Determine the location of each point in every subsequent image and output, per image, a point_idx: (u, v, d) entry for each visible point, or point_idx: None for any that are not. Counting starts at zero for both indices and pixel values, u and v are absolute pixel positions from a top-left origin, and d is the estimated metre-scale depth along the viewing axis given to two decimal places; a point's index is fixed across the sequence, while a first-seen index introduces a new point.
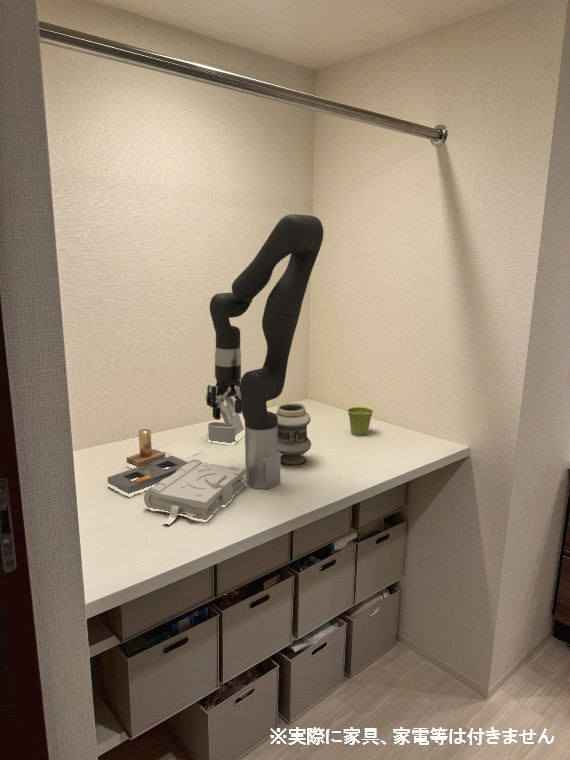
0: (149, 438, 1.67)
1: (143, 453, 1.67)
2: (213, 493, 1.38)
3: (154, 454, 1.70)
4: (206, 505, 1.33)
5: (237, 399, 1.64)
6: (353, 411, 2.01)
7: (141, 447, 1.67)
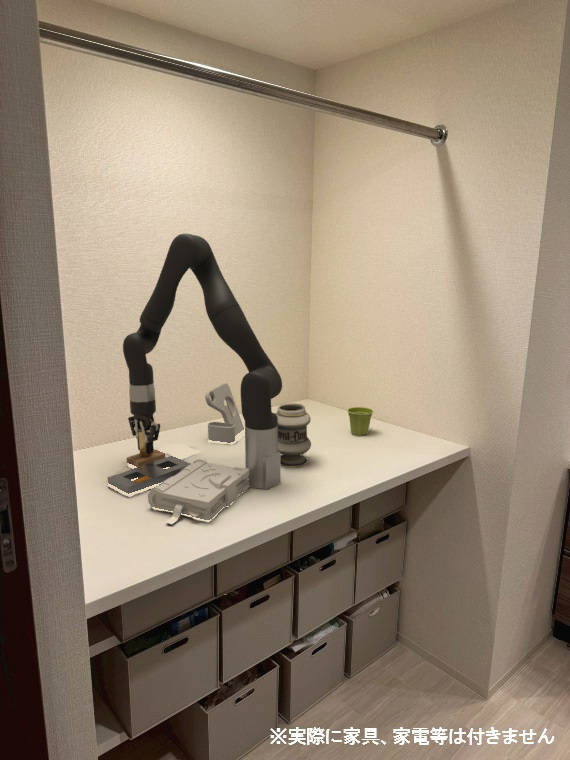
0: None
1: (143, 453, 1.67)
2: (216, 493, 1.38)
3: (154, 454, 1.70)
4: (209, 505, 1.33)
5: None
6: (353, 411, 2.01)
7: (141, 447, 1.67)
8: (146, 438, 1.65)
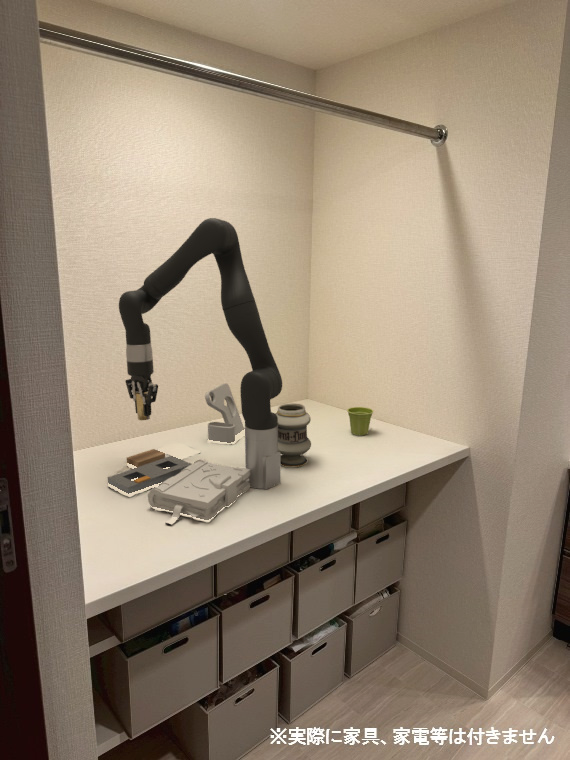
0: None
1: (141, 416, 1.64)
2: (216, 494, 1.38)
3: (154, 454, 1.70)
4: (209, 505, 1.33)
5: None
6: (353, 411, 2.01)
7: (139, 409, 1.64)
8: (144, 400, 1.62)
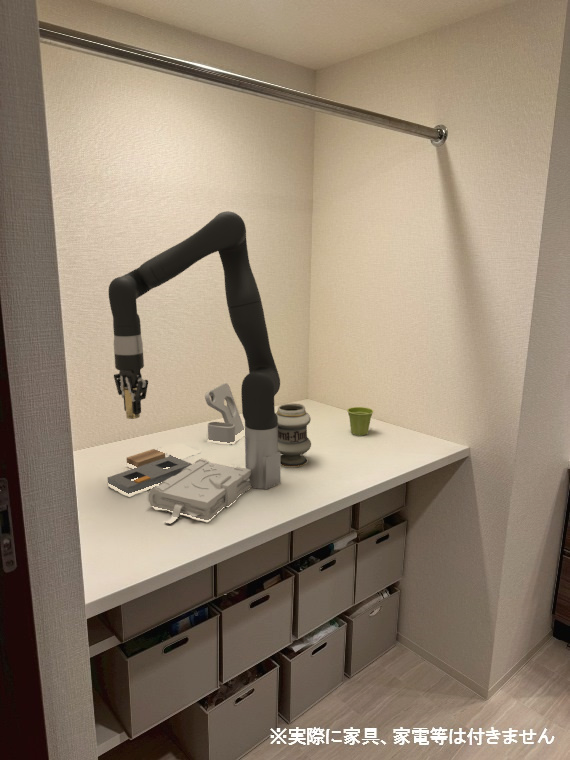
0: None
1: (129, 414, 1.50)
2: (216, 493, 1.38)
3: (154, 454, 1.70)
4: (208, 505, 1.33)
5: None
6: (353, 411, 2.01)
7: (127, 407, 1.50)
8: (133, 396, 1.48)
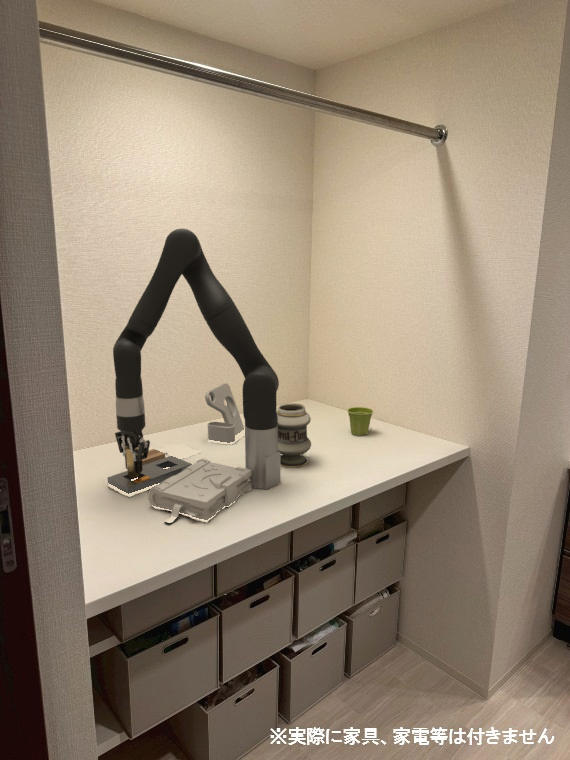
0: None
1: (131, 473, 1.52)
2: (215, 493, 1.38)
3: (154, 454, 1.70)
4: (207, 505, 1.33)
5: None
6: (353, 411, 2.01)
7: (129, 466, 1.51)
8: (134, 456, 1.50)
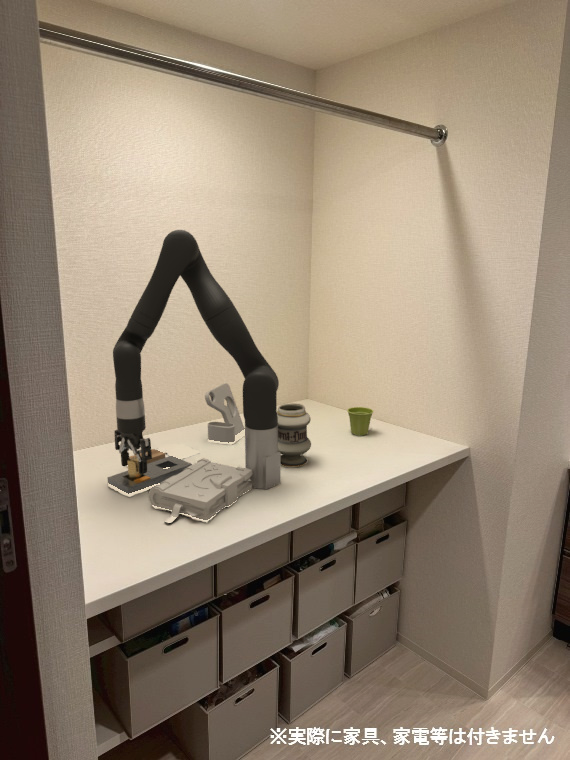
0: None
1: None
2: (216, 493, 1.38)
3: (154, 454, 1.70)
4: (207, 505, 1.33)
5: (124, 451, 1.55)
6: (353, 411, 2.01)
7: (130, 478, 1.52)
8: (138, 457, 1.48)
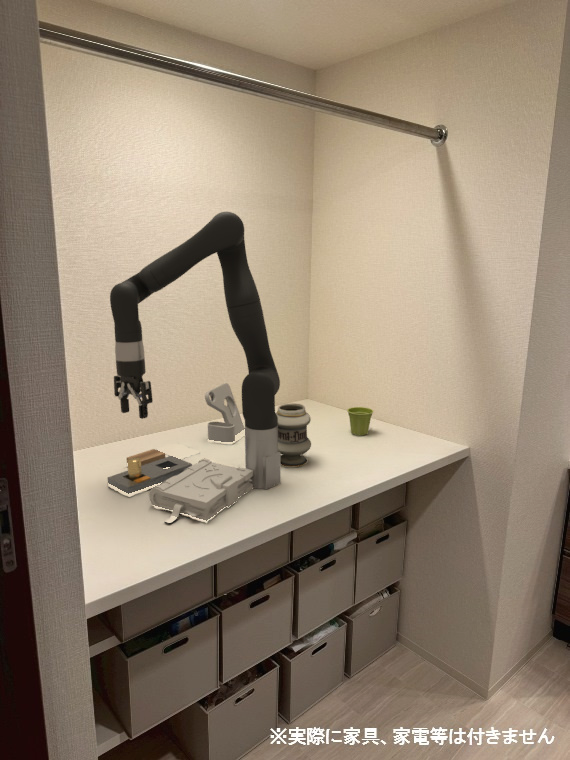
0: (139, 468, 1.52)
1: None
2: (216, 494, 1.38)
3: (154, 454, 1.70)
4: (207, 505, 1.33)
5: (124, 398, 1.52)
6: (353, 411, 2.01)
7: (130, 478, 1.52)
8: (139, 400, 1.46)
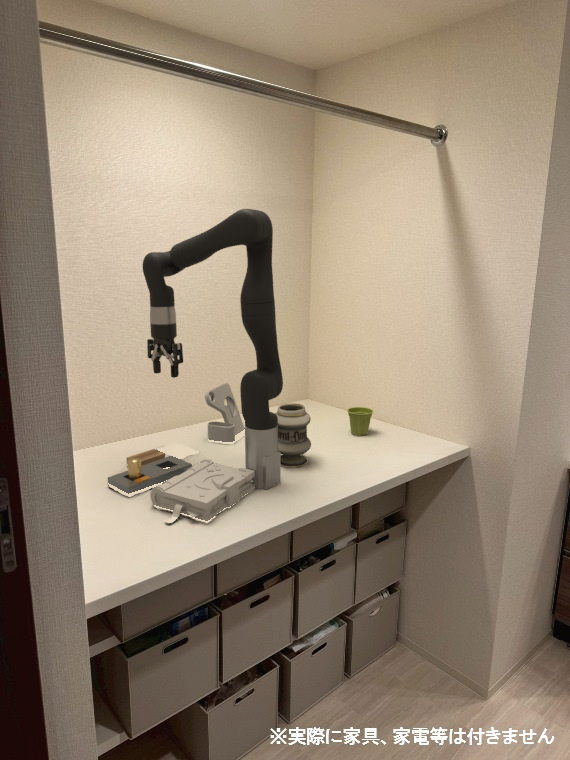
0: (139, 468, 1.52)
1: None
2: (217, 494, 1.37)
3: (154, 454, 1.70)
4: (208, 506, 1.33)
5: (156, 359, 1.67)
6: (353, 411, 2.01)
7: (130, 478, 1.52)
8: (171, 361, 1.60)
